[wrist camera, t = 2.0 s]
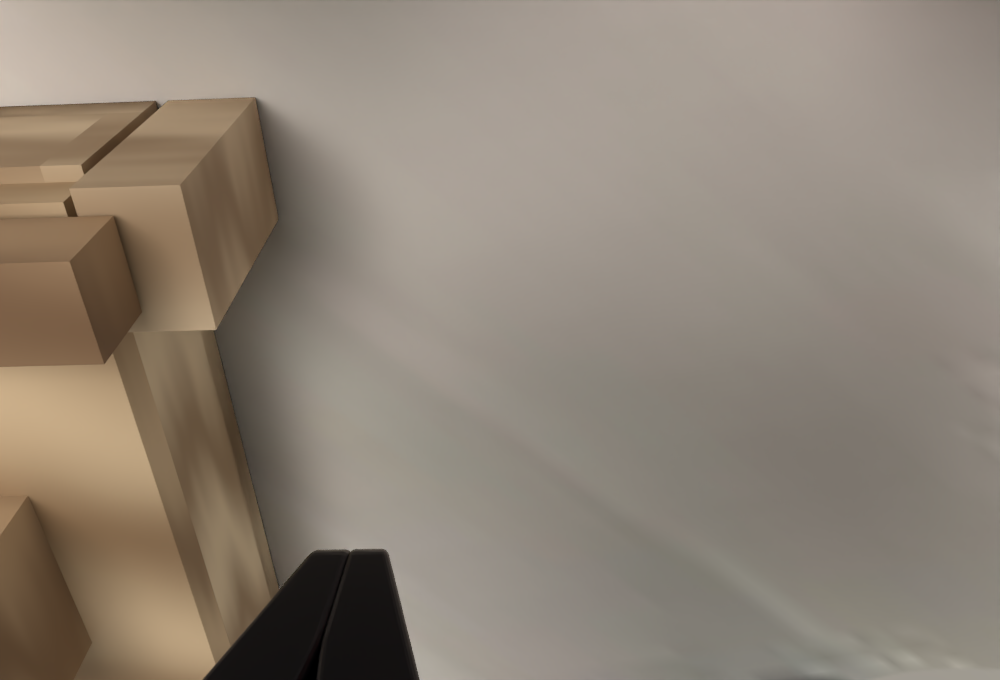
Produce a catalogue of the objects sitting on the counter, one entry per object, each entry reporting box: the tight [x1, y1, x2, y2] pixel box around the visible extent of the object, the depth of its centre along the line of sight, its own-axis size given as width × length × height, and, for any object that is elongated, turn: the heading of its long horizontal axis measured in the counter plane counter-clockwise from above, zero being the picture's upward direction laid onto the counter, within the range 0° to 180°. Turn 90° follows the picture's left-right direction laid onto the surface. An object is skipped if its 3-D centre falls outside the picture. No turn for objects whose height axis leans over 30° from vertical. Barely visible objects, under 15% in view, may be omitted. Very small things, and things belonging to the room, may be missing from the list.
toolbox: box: [0, 98, 279, 646], centre depth 22 cm, size 16×14×5 cm
